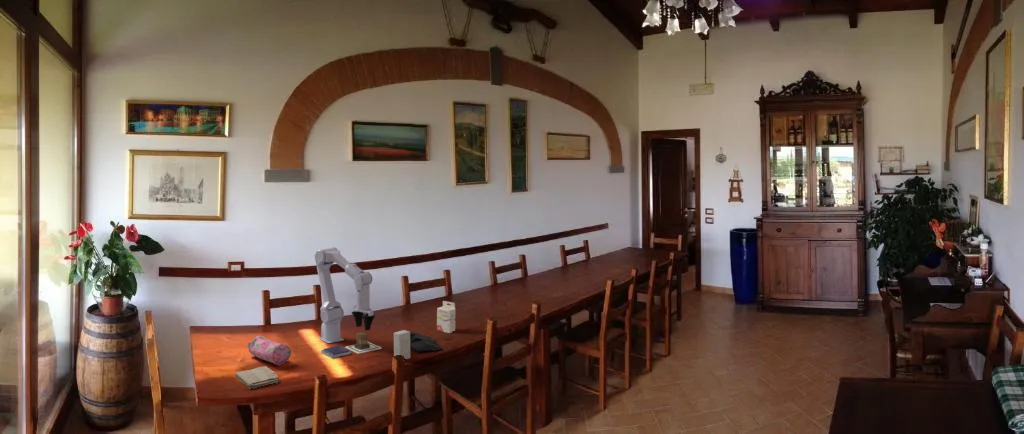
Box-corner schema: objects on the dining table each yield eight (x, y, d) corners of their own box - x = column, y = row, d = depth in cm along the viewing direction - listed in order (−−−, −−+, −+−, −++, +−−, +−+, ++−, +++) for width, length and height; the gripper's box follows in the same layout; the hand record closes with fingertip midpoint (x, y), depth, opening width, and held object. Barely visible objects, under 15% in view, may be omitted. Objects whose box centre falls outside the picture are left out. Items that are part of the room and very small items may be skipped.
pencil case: (246, 357, 259) (246, 336, 258) (267, 352, 266) (266, 332, 265) (272, 368, 246) (271, 347, 245) (292, 363, 253) (292, 342, 252)
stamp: (354, 347, 274) (354, 333, 273) (364, 345, 277) (364, 331, 276) (359, 349, 270) (359, 335, 269) (369, 347, 273) (369, 333, 273)
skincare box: (404, 356, 264) (404, 329, 263) (410, 358, 261) (410, 331, 260) (393, 359, 259) (393, 332, 258) (399, 361, 256) (399, 334, 255)
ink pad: (321, 352, 266) (321, 348, 266) (340, 348, 272) (339, 344, 272) (332, 358, 259) (332, 354, 259) (350, 354, 265) (350, 350, 265)
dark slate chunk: (412, 355, 266) (412, 345, 266) (399, 341, 286) (399, 332, 286) (445, 351, 273) (445, 341, 273) (429, 338, 293) (429, 328, 292)
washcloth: (249, 391, 222) (249, 383, 222) (233, 378, 235) (233, 370, 235) (281, 383, 230) (281, 376, 230) (264, 371, 243) (264, 363, 243)
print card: (345, 347, 274) (345, 346, 274) (368, 342, 282) (368, 341, 282) (358, 354, 265) (358, 352, 265) (381, 348, 274) (381, 347, 274)
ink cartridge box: (436, 330, 304) (436, 302, 303) (442, 328, 309) (442, 300, 307) (449, 333, 300) (449, 304, 299) (455, 331, 304) (455, 302, 303)
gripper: (347, 297, 274) (347, 326, 276) (363, 303, 264) (363, 333, 265) (361, 295, 279) (361, 323, 280) (377, 300, 269) (377, 330, 270)
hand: (363, 328), depth 273 cm, fingers open, 7 cm apart
